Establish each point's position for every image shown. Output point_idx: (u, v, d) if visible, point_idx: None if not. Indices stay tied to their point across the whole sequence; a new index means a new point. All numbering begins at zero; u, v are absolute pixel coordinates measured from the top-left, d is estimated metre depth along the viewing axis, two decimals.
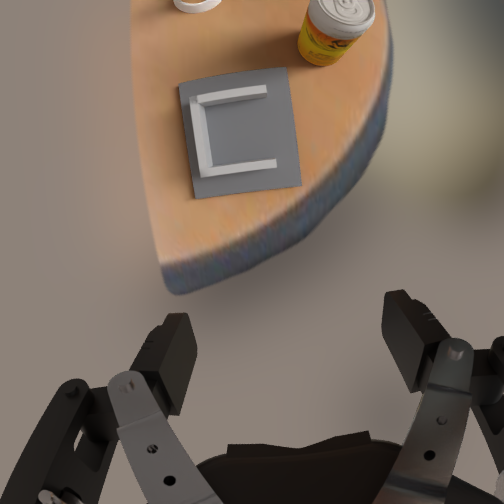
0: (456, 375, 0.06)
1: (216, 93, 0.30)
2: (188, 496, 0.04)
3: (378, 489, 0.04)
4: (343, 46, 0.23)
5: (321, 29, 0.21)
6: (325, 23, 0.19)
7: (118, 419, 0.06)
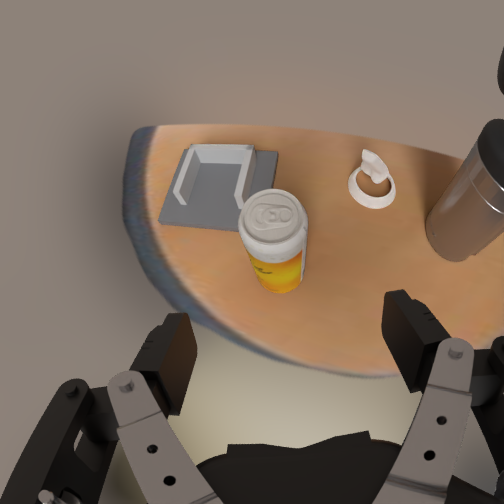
0: (456, 375, 0.06)
1: (248, 161, 0.40)
2: (188, 496, 0.04)
3: (378, 489, 0.04)
4: None
5: None
6: None
7: (118, 419, 0.06)
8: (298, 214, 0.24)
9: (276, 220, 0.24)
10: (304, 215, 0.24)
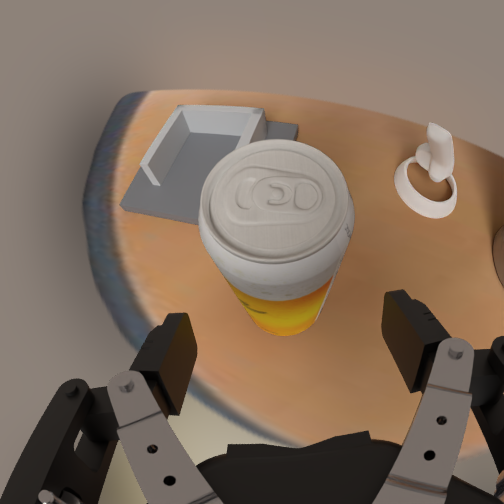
0: (456, 375, 0.06)
1: (252, 128, 0.26)
2: (188, 496, 0.04)
3: (378, 489, 0.04)
4: None
5: None
6: None
7: (118, 419, 0.06)
8: (336, 197, 0.10)
9: (283, 204, 0.10)
10: (348, 201, 0.10)
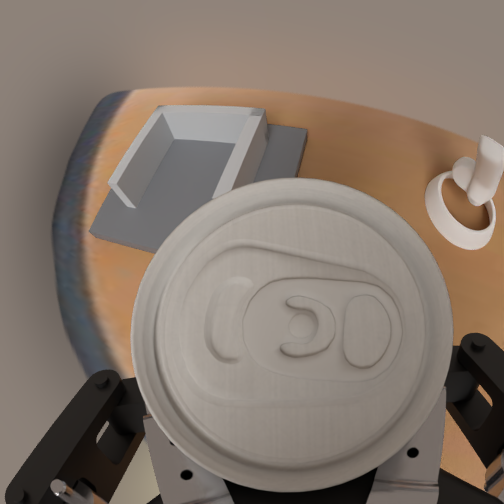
0: None
1: (250, 135, 0.20)
2: (188, 496, 0.04)
3: (366, 492, 0.04)
4: None
5: None
6: None
7: None
8: (424, 325, 0.04)
9: (317, 358, 0.04)
10: (445, 332, 0.04)
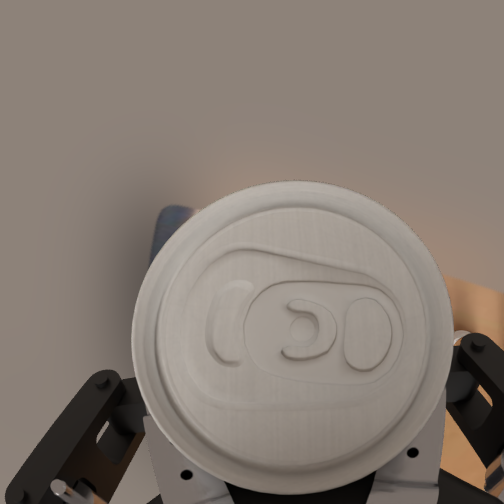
0: None
1: None
2: (188, 496, 0.04)
3: (366, 492, 0.04)
4: None
5: None
6: None
7: None
8: (425, 328, 0.04)
9: (318, 361, 0.04)
10: (446, 335, 0.04)
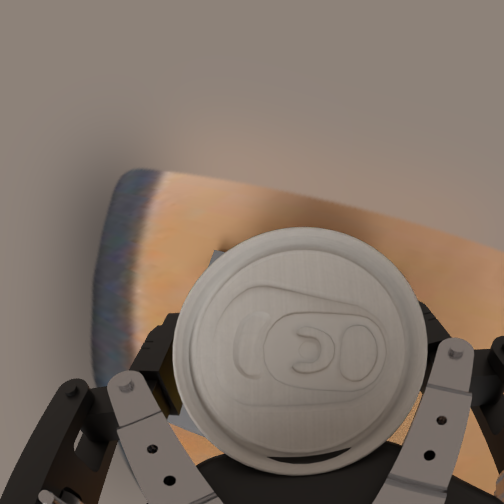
0: (456, 376, 0.06)
1: None
2: (188, 496, 0.04)
3: (378, 489, 0.04)
4: None
5: None
6: None
7: (118, 419, 0.06)
8: (404, 346, 0.05)
9: (320, 374, 0.05)
10: (422, 351, 0.05)
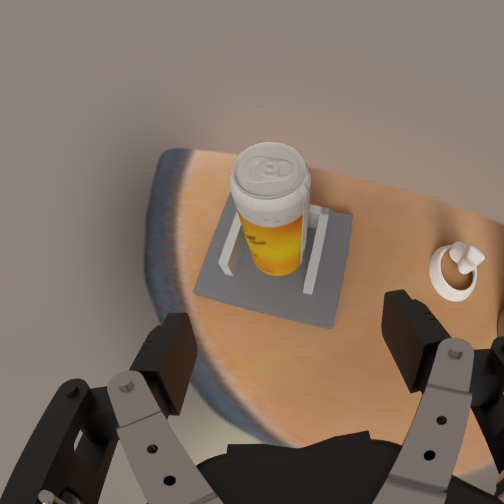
0: (456, 375, 0.06)
1: (323, 233, 0.30)
2: (188, 496, 0.04)
3: (378, 489, 0.04)
4: None
5: None
6: None
7: (118, 419, 0.06)
8: (300, 170, 0.20)
9: (273, 173, 0.20)
10: (306, 172, 0.20)
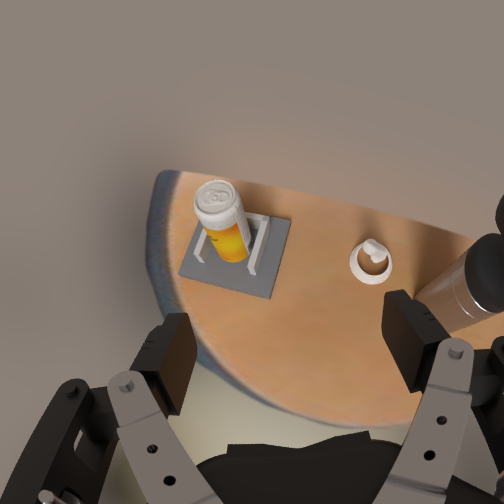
0: (456, 376, 0.06)
1: (262, 233, 0.46)
2: (188, 496, 0.04)
3: (378, 489, 0.04)
4: None
5: None
6: None
7: (118, 419, 0.06)
8: (232, 197, 0.36)
9: (217, 200, 0.36)
10: (236, 198, 0.36)
